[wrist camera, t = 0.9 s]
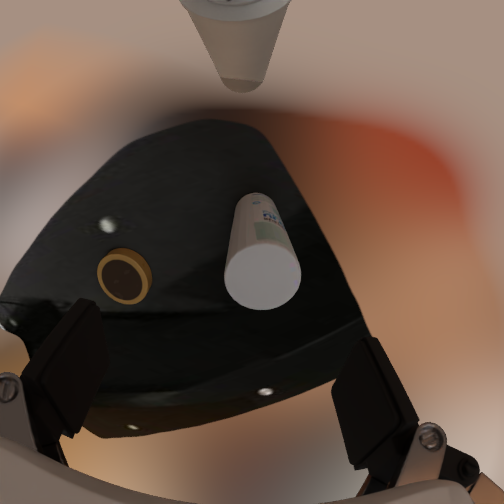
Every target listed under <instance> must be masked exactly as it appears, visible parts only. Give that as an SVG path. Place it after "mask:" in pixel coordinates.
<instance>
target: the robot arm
mask: <svg viewBox="0 0 504 504" xmlns="http://www.w3.org/2000/svg"><path fill="white" fill-rule="evenodd" d="M207 1H209V2H212V3H214V4H219V5H224V6H242V5H248V4H252V3H256V2H258V1H261V0H207ZM228 1H230V2H228ZM109 364H110V356H109V352H108V348H107V343H106V339H105V334H104V329H103V324H102V319H101V313H100V308H99V307H98V306H96V303H95V302H94V301H92V300H88V299H84V298H79V299H78V300H77V301H76V303H75V304H74V305H73V306H72V307H71V308H70V310H69V311H68V312H67V313H66V314H65V316H64V317H63V318H62V319H61V321H60V322H59V323H58V324H57V326H56V327H55V328H54V329H53V331H52V332H51V333H50V334H49V336H48V337H47V338H46V340H45V341H44V342H43V344H42V345H41V346H40V348H39V349H38V350H37V352H36V353H35V354H34V356H33V357H32V359H31V360H30V361H29V363H28V364H27V366H26V367H25V368H24V370H23V371H22V375H21V376H20V378H19V377H18V376H17V375H15V374H14V373H10V372H4V373H1V374H0V504H196V503H189V502H183V501H176V500H171V499H166V498H161V497H157V496H153V495H148V494H144V493H140V492H137V491H133V490H129V489H126V488H123V487H120V486H117V485H114V484H111V483H108V482H105V481H102V480H99V479H97V478H94V477H92V476H89V475H86V474H84V473H81V472H79V471H77V470H74V469H72V468H69V466H68V463H67V461H66V458H65V456H64V453H63V450H62V448H61V445H60V442H59V439H60V436H61V434H63V435H65V436H67V437H69V438H72V439H73V437H74V434H75V433H76V434H77V433H79V431H80V429H81V427H82V425H83V422H84V420H85V417H86V415H87V413H88V411H89V408H90V406H91V404H92V401H93V399H94V397H95V395H96V393H97V390H98V388H99V386H100V384H101V382H102V380H103V378H104V376H105V374H106V371H107V369H108V367H109ZM331 394H332V398H333V402H334V406H335V409H336V413H337V416H338V420H339V424H340V428H341V431H342V435H343V439H344V443H345V447H346V450H347V454H348V459H349V462H350V464H352V465H354V469H355V470H360V469H365V468H368V471H369V474H368V476H367V478H366V480H365V482H364V483H363V485H362V487H361V489H360V490H359V492H358V494H357V495H356V497H354V498H349V499H344V500H339V501H333V502H327V503H320V504H504V491H503V490H502V489H501V488H500V487H499V486H497V485H496V484H495V483H494V482H493V481H492V480H490V479H489V478H488V477H487V476H486V475H485V474H484V473H483V472H481V473H480V474H479V472H480V469H479V465H478V462H477V461H476V460H475V458H473V457H472V456H470V455H468V454H466V453H463V452H461V451H459V450H457V449H455V448H453V447H450V446H448V445H447V438H446V434H445V432H444V431H443V429H442V428H441V427H440V426H438V425H437V424H435V423H431V422H426V423H423V424H421V425H420V426H419V425H418V421H419V418H418V416H417V414H416V412H415V409H414V408H413V405H412V403H411V401H410V399H409V397H408V395H407V393H406V391H405V389H404V387H403V385H402V383H401V381H400V379H399V377H398V375H397V373H396V372H395V370H394V368H393V366H392V364H391V363H390V361H389V358H388V357H387V355H386V353H385V351H384V349H383V347H382V346H381V344H380V342H379V340H378V339H377V338H375V337H362V338H361V339H360V340H359V341H357V342H356V343H355V344H354V346H353V348H352V350H351V352H350V354H349V356H348V358H347V360H346V362H345V364H344V366H343V368H342V370H341V372H340V373H339V375H338V377H337V379H336V381H335V383H334V384H333V386H332V390H331Z"/></svg>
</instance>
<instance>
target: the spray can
mask: <svg viewBox="0 0 504 504" xmlns="http://www.w3.org/2000/svg"><path fill="white" fill-rule="evenodd" d="M224 279H225V285H226V288H227V290H228V292H229V294H230V295H231V296H232V297H233V299H234V300H235V301H237V302H238V303H240V304H241V305H243V306H245V307H248V308H250V309H257V310H267V309H272V308H276V307H278V306H280V305H282V304H284V303H286V302H287V301H288V300H289V299H291V298H292V297H293V295H294V294H295V292H296V291H297V290H298V287H299V284H300V281H301V270H300V266H299V262H298V260H297V257H296V255H295V252H294V250H293V247H292V245H291V242H290V240H289V237H288V235H287V232H286V230H285V228H284V225H283V223H282V220H281V218H280V216H279V213H278V211H277V208H276V206H275V204H274V202H273V201H272V200H271V199H270V198H269V197H268V196H266V195H264V194H261V193H251V194H248V195H246V196H244V197H243V198H241V200H240V201H239V202H238V204H237V205H236V209H235V214H234V220H233V225H232V231H231V237H230V243H229V249H228V255H227V261H226V267H225V273H224Z"/></svg>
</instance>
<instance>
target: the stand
mask: <svg viewBox="0 0 504 504" xmlns="http://www.w3.org/2000/svg"><path fill="white" fill-rule="evenodd" d="M97 274H98V280H99V283H100V285H101V287H102V289H103V290H104V291H105V293H106V294H107V295H108V296H110V297H111V298H112V299H114V300H115V301H117V302H120V303H123V304H135V303H138V302H140V301H141V300H142V299H144V297H145V296H146V294H147V292H148V290H149V289H150V287H151V284H152V274H151V270H150V267H149V265H148V264H147V262H146V261H145V260H144V258H143V257H142V256H140V255H139V254H138V253H136V252H135V251H133V250H130V249H126V248H117V249H114V250H112V251H110V252H109V253H108V254H107V255H106V256H105V257H104V258H103V259H102V260H101V262H100V263H99V266H98V271H97Z"/></svg>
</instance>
